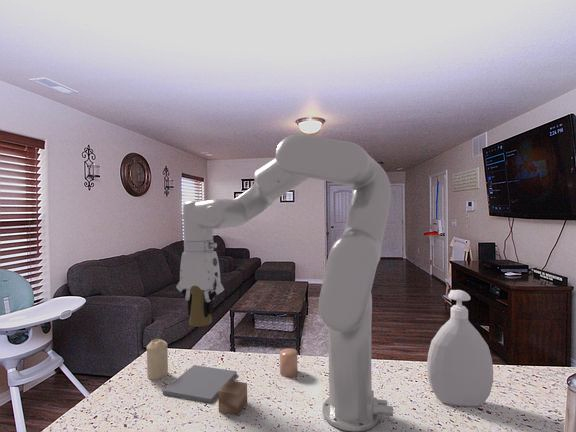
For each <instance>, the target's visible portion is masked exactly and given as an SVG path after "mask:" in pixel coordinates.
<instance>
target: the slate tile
mask: <svg viewBox="0 0 576 432" xmlns="http://www.w3.org/2000/svg"><path fill="white" fill-rule="evenodd" d="M237 375H238V374H237V370H231V369H230V370H229V369H222V368H216V367H210V366H204V365H203V366H202V365H197V364H196V365H195V364H193V365H192V366H191V367H190V368H188V369H187V370H186V371H185V372H183V373H182V374H181V375H180V376H178V377H177V378H176V379H175V380H174V381H172V382H171V383H170V384H169V385H167V386H166V387H165V388H164V389H162V395H164V396H165V395H166V396H171V397H175V398H180V399H181V398H182V399H187V400H193V401H197V402H202V403H203V402H204V403H208V404H212V403H213V402H214V401H215V400H216V399H217V397H218V391H219V390H220V389H221V388H222V387H223V386H224V384H225V383H226V382H227V381H228V380H231V381H233V380H234V379H235V377H236V376H237Z"/></svg>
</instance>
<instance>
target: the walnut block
mask: <svg viewBox="0 0 576 432" xmlns="http://www.w3.org/2000/svg"><path fill="white" fill-rule="evenodd" d="M217 397H218V412H219V413H223V414H228V415H234V416H240V414H241V412H242V411H243V410H244V408H245V407H246V406H247V404H248V382H244V381H238V380H237V381H236V380H232V381H231V380H228V381H227V382H226V383H225V384H224V386H223V387H222V388H221V389H220V390H219V391H218V396H217Z"/></svg>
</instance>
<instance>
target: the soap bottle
mask: <svg viewBox="0 0 576 432" xmlns="http://www.w3.org/2000/svg"><path fill="white" fill-rule="evenodd" d="M448 299H450V300H454V301H456V304H453V305H452V306H451V307H450V318H449V319H448V320H447V321H446V322H445V323H444V324H443V325H442V326H441V327H439V330H438V331H437V332H436V334H435V335H434V337H433V338H432V339H431V341H430V345H429V350H428V353H427V361H426V368H427V369H426V371H427V373H426V375H427V379H428V383H429V387H430V389H431V391H432V392H433V394H434V395H435V397H436V399H438V400H439V402H441V403H443V404H446V405H451V406H457V407H467V408H468V407H472V408H476V407H480V406H482V405H484V404H485V402H486V401H487V400H488V398H489V397H490V394H491V391H492V388H493V383H494V367H493V359H492V355H491V351H490V348H489V345H488V344H487V342H486V341H485V339H484V337H482V335H481V334H480V332H479V331H478V329H476V328H475V326H474V325H473V324H472V323H471V321H470V320H469V310H468V308H467V307H466V306H465V305H463V302H467V301H468V302H469V301H470V300H471V296H470V294H469V293H467V292H466V291H465V290H461V289H450V291H449V292H448Z"/></svg>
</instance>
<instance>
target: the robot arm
mask: <svg viewBox="0 0 576 432" xmlns="http://www.w3.org/2000/svg"><path fill="white" fill-rule="evenodd" d="M253 179H254V182H253V184H252V186H250V188H248V189H247V190H246V191H245V192H243V193H241V194H240V195H239V196H237V197H235V198H233V199H229V198H228V199H227V198H224V199H223V198H218V199H217V198H216V199H215V198H214V199H209V200H190V201H189V200H188V201H185V202H184V203H183V205H182V206H183V207H182V213H183V215H182V217H183V218H182V219H183V247H184V248H183V250H184V251H182V252H181V253H182V254H181V259H180V268H179V281H178V283H177V284H176V289H177V290H178V291H179V292H180V293H181V294H182V295H183V296H184V298H185V301H187V312H188V313H187V314H188V316H189V317H190V312H191V302H192V294H191V293H190V289H191V287H192V286H198V287H199V288H200V289H201V290H204V295H205V300H206V302H204V317H208V315H209V314H210V315H211V316H212V315H213V312H214V300H215V298H216V297H217V296H218V295H219V294H220V293H222V292H223V291H225V288H224V286H223V283H222V282H221V281H222V280H221V269H220V261H219V257H218V254H217V253H218V252H217V251H214V250H215V249H216V248H217V247H218V243H217V242H214V229H216V230H219V229H221V230H222V229H227V228H236V227H240V226H243V225H244V224H247V222H249V221H251V220H253V219H255V218H256V217H257V216H259V215H260V214H262V213H263V212H264V211H266V210H267V208H269V207H270V206H271V205H272V204H273V203H274V202H275V200H278V199H279V198H281V197H282V196H283V195H285V194H288V192H290V191H292V190H293V189H294V188H296V187H298V186H299V185H301V184H303V183H304V182H306V181H308V180H309V179H313V180H319V181H324V182H329V183H335V184H339V185H342V186H346V187H349V188H350V189H351V193H352V195H351V201H350V204H349V208H348V212H347V218H346V221H345V226H344V229H343V233H342V235H340V236H339V237H337V239H336V240H335V241H334V242H333V244H332V245H331V248H330V250H329V253H328V257H327V261H326V264H325V265H326V266H325V270H324V275H323V280H322V284H321V289H320V293H319V298H318V299H319V300H318V312H319V316H320V318H321V320H322V322H323V324H325V326H326V327H327V328H328V391H329V392H328V393H329V394H328V395H329V397H328V398H326V399H325V400H324V402H323V404H322V415H323V417H324V419H325V420H326V421H327V422H328V424H330V425H331V426H332V427H335V428H336V429H339V430H342V431H347V432H365V431H368V430H370V429H372V428H374V427H375V426H376V425H377V424H378V422H379V419H380V415H384V416H386V417H394V407H393V405H388V400H387V399H380V398H377V397H375V391H374V390H372V389H373V388H372V383H373V382H372V380H373V377H372V320H373V319H372V315H373V297H372V296H373V295H372V289H373V285H374V279H375V276H376V271H377V269H378V268H377V267H378V266H379V265H378V264H379V262H380V261H381V257H382V246H383V240H384V236H385V232H386V228H387V221H388V216H389V212H390V206H391V200H392V188H391V182H390V179H389V176H388V175H387V173H386V171H385V170H384V168H383V167H382V166H381V165H380V164H379V163H378V162H377V161H376V160H375V159H374V158H373V157H372V156H370V154H369V153H368V152H367V151H366V149H364V148H363V147H362V146H360V145H359V144H357V143H354V142H351V141H346V140H340V139H333V138H328V137H326V138H325V137H319V136H314V135H313V136H312V135H306V134H300V133H299V134H298V133H297V134H292V135H288V136H286V137H284V138H283V139H282V140H281V141H280V142H279V143H278V145H277V148H276V150H275V157H274V158H273V159H271V160H270V161H269V162H267V163H266V164H264V165H262V166H261V167H260V168H257V170H256V171H254V174H253ZM214 288H215V290H214Z"/></svg>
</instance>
